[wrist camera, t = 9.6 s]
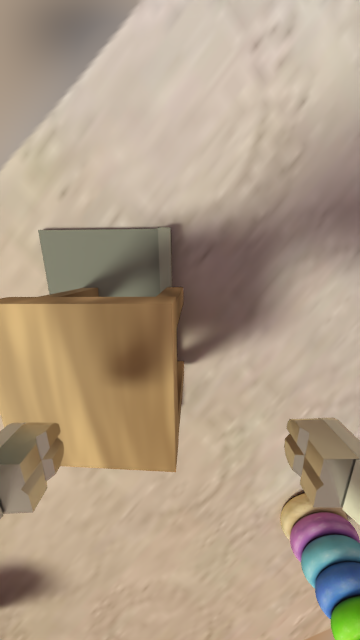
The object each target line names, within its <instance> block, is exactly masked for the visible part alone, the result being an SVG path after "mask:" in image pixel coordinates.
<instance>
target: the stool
mask: <svg viewBox="0 0 360 640" xmlns="http://www.w3.org/2000/svg"><path fill="white" fill-rule="evenodd" d="M182 306H183V287H167V288H166V289H164V290H163V291H162V292H161V293H160V294H158V295H157V296H156V297H99V293H98V288H79V289H74V290H70V291H65V292H60V293H55V294H50V295H45V296H40V297H7V298H1V299H0V414H1V417H2V421H3V424H4V428H5V427H6V426H7V425H9V424H11V423H27V422H40V423H57V424H59V427H60V430H61V432H60V434H59V436H58V438H59V439H60V440H61V441H62V442H63V445H64V456H63V459H62V462H61V465H60V466H71V467H89V468H108V469H127V470H146V471H165V472H176V464H177V452H178V436H179V424H180V413H181V402H182V391H183V379H184V361H177V332H176V328H177V325H178V321H179V317H180V314H181V310H182Z"/></svg>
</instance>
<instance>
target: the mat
mask: <svg viewBox="0 0 360 640" xmlns="http://www.w3.org/2000/svg"><path fill="white" fill-rule="evenodd" d="M38 232H39V237H40V243H41V249H42V254H43V260H44V265H45V271H46V277H47V282H48V288H49V294H55V293H60V292H65V291H70V290H74V289H79V288H98V293H99V297H156V296H157V295H158V294H160V293H161V292H162V291H163V290H164V289H166V288H167V287H172V267H171V229H170V227H158V229H95V230H38Z"/></svg>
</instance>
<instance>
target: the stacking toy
mask: <svg viewBox="0 0 360 640" xmlns="http://www.w3.org/2000/svg"><path fill="white" fill-rule="evenodd" d="M342 509H343V508H329V507H313V506H312V504H311V502H310V501H309V499H308V497H307V495H306V494H305V493H304V494H301V495H298V496H296V497H294V498H292V499H291V500H290V501H289V502H288V503H287V504H286V505H285V506H284V508H283V510H282V512H281V517H280V521H281V526H282V530H283V532H284V534H285V535H286V537H287V538H288V539H289V540H290V544H291V548H292V550H293V553H294V554H295V556H296V558H297V559H298V560H299V561H300V562H301V565H302V570H303V573H304V575H305V577H306V579H307V580H308V582H309V583H310V584H311V585H312V586H313V587H314V588H315V593H316V598H317V601H318V603H319V605H320V607H321V609H322V611H323V612H324V613H325V614H326V616H327V617H328V618H330V619H331V628H332V632H333V635H334V638H335V640H360V540H359V536H358V534H357V532H356V530H355V528H354V527H353V526H352V525H351V523H350V522H349V521H348V518H347V514H346V512H345V511H343V510H342Z"/></svg>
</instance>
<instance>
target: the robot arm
mask: <svg viewBox="0 0 360 640" xmlns="http://www.w3.org/2000/svg"><path fill="white" fill-rule="evenodd" d="M287 430H288V431H289V433H290V434H289V435H288V436H287V437H286V438H285V444H284V448H285V454H286V458H287V460H288V463H289V465H290V467H291V468H292V470H293V471H294V472H296V473H297V474H298V475H299V476H301V480H300V485H301V486H302V488H303V490H304V492H305V494H306V495H307V497H308V499H309V501H310V502H311V504H312V506H313V507H329V508H343V509H342V510H343V511H345V512H346V513H347V514H348V515H349V516H350V517H351V518H352V519H353V520H354V521H356V522H357V523H358V524H359V525H360V441H359V440H358V439H357V438H356V437H355V436H354V435H353V434H352V433H351V432H350V431H349V430H348V429H347V428H346V427H345V426H344V425H343V424H342V423H341V422H340V421H339V420H337V419H335V418H318V419H317V418H311V419H290V420H289V421H288V423H287ZM60 432H61V430H60V427H59V424H57V423H40V422H27V423H11V424H9V425H7V426H6V427H5V428H4V429H3V430H2V431H0V518H1V517H3V514H10V513H29V512H34V510H35V508H36V506H37V505H38V503H39V501H40V500H41V498H42V496H43V495H44V493H45V491H46V490H47V480H49V479H50V478H51V477H52V476H54V475H55V474H56V472H57V471H58V469H59V467H60V465H61V462H62V459H63V456H64V445H63V442H62V441H61V440H60V439H59V438H58V436H59V434H60Z"/></svg>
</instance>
